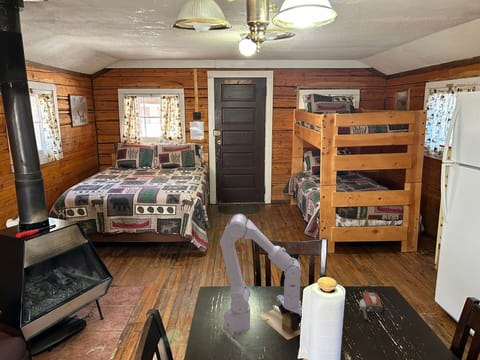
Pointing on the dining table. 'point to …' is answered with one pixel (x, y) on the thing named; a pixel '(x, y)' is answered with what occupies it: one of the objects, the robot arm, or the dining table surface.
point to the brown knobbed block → (288, 323)
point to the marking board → (277, 322)
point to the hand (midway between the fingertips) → (290, 326)
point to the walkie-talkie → (370, 303)
